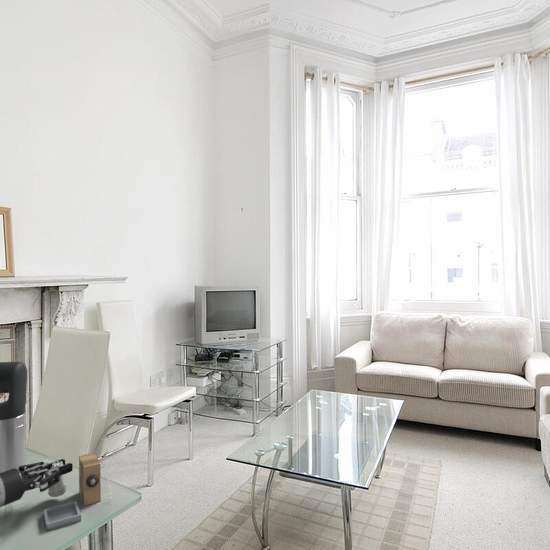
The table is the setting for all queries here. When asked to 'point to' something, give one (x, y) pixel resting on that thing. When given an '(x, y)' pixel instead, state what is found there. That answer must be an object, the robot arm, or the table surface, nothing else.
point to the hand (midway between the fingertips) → (67, 464)
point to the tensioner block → (89, 479)
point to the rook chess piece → (60, 486)
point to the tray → (62, 515)
